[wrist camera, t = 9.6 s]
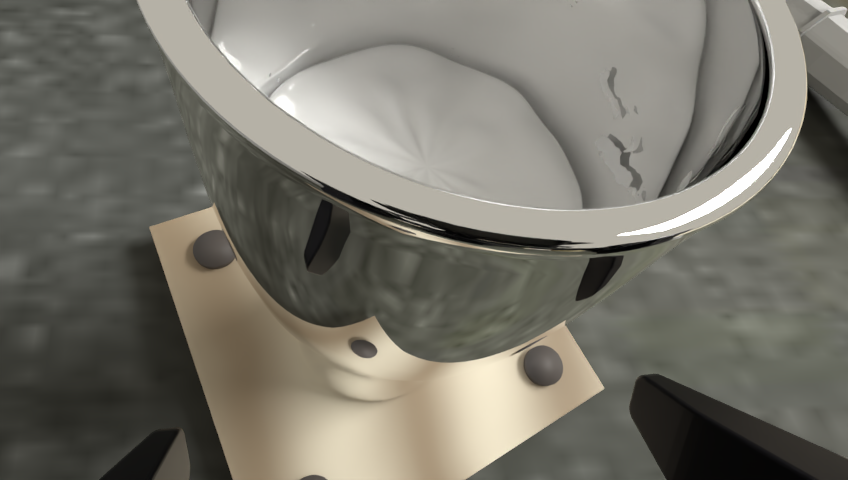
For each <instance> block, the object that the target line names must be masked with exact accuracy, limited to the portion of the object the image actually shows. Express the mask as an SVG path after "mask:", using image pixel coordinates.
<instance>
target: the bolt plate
mask: <svg viewBox="0 0 848 480" xmlns="http://www.w3.org/2000/svg"><path fill="white" fill-rule="evenodd" d="M149 228H150V231H151V234H152V237H153V240H154V243H155V246H156V249H157V252H158V255H159V258H160V261H161V264H162V267H163V270H164V273H165V276H166V279H167V282H168V285H169V288H170V291H171V294H172V297H173V300H174V303H175V306H176V309H177V312H178V315H179V318H180V321H181V324H182V327H183V330H184V333H185V336H186V339H187V342H188V345H189V349H190V352H191V355H192V358H193V361H194V364H195V367H196V370H197V373H198V376H199V379H200V382H201V385H202V388H203V391H204V394H205V397H206V400H207V403H208V406H209V409H210V412H211V415H212V418H213V421H214V424H215V427H216V430H217V433H218V436H219V439H220V442H221V445H222V448H223V451H224V454H225V457H226V460H227V463H228V466H229V469H230V472H231V475H232V478H233V480H465V479H467V478H468V477H470V476H471V475H473V474H475V473H476V472H478V471H479V470H481V469H482V468H484V467H485V466H487V465H488V464H490V463H491V462H493V461H494V460H496V459H497V458H499V457H500V456H502V455H504V454H505V453H507V452H508V451H510V450H511V449H513V448H514V447H516V446H517V445H519V444H520V443H522V442H523V441H525V440H526V439H528V438H530V437H531V436H533V435H534V434H536V433H537V432H539V431H540V430H542V429H543V428H545V427H546V426H548V425H549V424H551V423H552V422H554V421H556V420H557V419H559V418H560V417H562V416H563V415H565V414H566V413H568V412H569V411H571V410H572V409H574V408H575V407H577V406H578V405H580V404H582V403H583V402H585V401H586V400H588V399H589V398H591V397H592V396H594V395H595V394H597V393H598V392H600V391H601V390H603V389H604V387H603V385H602V383H601V382H600V380H599V379H598V377H597V375H596V374H595V372H594V371H593V369H592V367H591V366H590V364H589V362H588V361H587V359H586V358H585V356H584V354H583V353H582V351H581V350H580V348H579V346H578V345H577V343H576V342H575V340H574V338H573V337H572V335H571V334H570V332H569V330H568V329H567V327H566V326H564V327H563V328H561V329H559V330H557V331H556V332H554V333H552V334H551V335H549V336H547V337H545V338H544V339H542V340H540V341H539V342H537V343H535V344H533V345H532V346H530V347H528V348H526V349H524V350H523V351H521V352H519V353H517V354H515V355H513V356H510V357H508V358H505V359H503V360H500V361H498V362H495V363H493V364H490V365H487V366H485V367H482V368H480V369H477V370H474V371H471V372H469V373H465V374H462V375H458V376H454V377H449V378H444V379H436V380H425V381H424V382H423V383H422V384H421V385H419V386H418V387H417V388H415V389H414V390H412V391H410V392H408V393H406V394H404V395H402V396H399V397H396V398H393V399H389V400H383V401H362V400H357V399H352V398H349V397H346V396H344V395H341V394H339V393H337V392H335V391H333V390H332V389H330V388H329V387H327V386H326V385H325V384H324V383H323V382H321V381H320V380H319V379H318V378H317V376H316V375H315V374H314V373H313V372H312V370H311V369H310V368H309V366H308V364H307V363H306V361H305V359H304V357H303V355H302V353H301V350H300V347H299V343H298V339H296V338H295V337H294V336H293V335H292V334H290V333H289V332H288V331H287V330H286V329H285V328H284V327H283V326H282V325H281V324H280V323H279V322H278V321H277V320H276V318H275V317H274V316H273V315H272V314H271V313H270V311H269V310H268V309H267V307H266V306H265V305H264V303H263V302H262V300H261V299H260V297H259V296H258V294H257V293H256V291H255V290H254V288H253V287H252V285H251V283H250V282H249V280H248V279H247V277H246V276H245V274H244V273H243V271H242V269H241V268H240V266H239V264H238V262H237V261H236V259H235V257H234V255H233V253H232V250H231V248H230V246H229V244H228V242H227V239H226V237H225V235H224V233H223V230H222V228H221V226H220V224H219V221H218V219H217V217H216V215H215V212H214V210H213V208H212V207H210V208H207V209H204V210H201V211H198V212H195V213H192V214H189V215H185V216H182V217H179V218H176V219H173V220H170V221H167V222H163V223H160V224H157V225H154V226H151V227H149Z"/></svg>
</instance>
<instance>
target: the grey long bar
mask: <svg viewBox="0 0 848 480" xmlns="http://www.w3.org/2000/svg"><path fill="white" fill-rule="evenodd" d="M785 1H786V3H787V5H788V7H789V9H790V11H791V13H792V16H793V18H794V21H795V23H796V26H797V29H798V32H799V35H800V38H801V42H802V46H803V50H804V54H805V61H806V69H807V85H809V86H810V87H811V88H812V89H814V90H815V91H816V92H817V93H819V94H820V95H821V96H822V97H824V98H825V99H826V100H827V101H829V102H830V103H831V104H832V105H834V106H835V107H836V108H837V109H839V110H840V111H841V112H842V113H844V114H845V115H846V116H848V19H847V18H845V17H844V16H845V14H846V12H847V9H846V8H845V7H838V8H832V7H830V6H829V5H827V4H826V3H824V2H823V1H821V0H785Z"/></svg>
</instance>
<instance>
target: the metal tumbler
mask: <svg viewBox="0 0 848 480" xmlns="http://www.w3.org/2000/svg"><path fill="white" fill-rule="evenodd" d="M136 2H137V5H138V7H139V10H140V12H141V14H142V17H143V19H144V21H145V23H146V25H147V27H148V29H149V31H150V32H151V34H152V36H153V38H154V40H155V41H156V43H157V45H158V48H159V51H160V54H161V57H162V59H163V62H164V65H165V68H166V71H167V74H168V77H169V80H170V83H171V86H172V89H173V92H174V95H175V98H176V102H177V105H178V108H179V111H180V114H181V118H182V121H183V124H184V127H185V130H186V134H187V137H188V140H189V143H190V146H191V149H192V152H193V155H194V157H195V160H196V163H197V166H198V169H199V172H200V175H201V177H202V180H203V183H204V186H205V189H206V192H207V195H208V197H209V200H210V203H211V205H212V208H213V210H214V212H215V215H216V217H217V219H218V221H219V224H220V226H221V228H222V230H223V233H224V235H225V237H226V239H227V242H228V244H229V246H230V248H231V250H232V253H233V255H234V257H235V259H236V261H237V262H238V264H239V266H240V268H241V269H242V271H243V273H244V274H245V276H246V277H247V279H248V280H249V282H250V283H251V285H252V287H253V288H254V290H255V291H256V293H257V294H258V296H259V297H260V299H261V300H262V302H263V303H264V305H265V306H266V307H267V309H268V310H269V311H270V313H271V314H272V315H273V316H274V317H275V318H276V320H277V321H278V322H279V323H280V324H281V325H282V326H283V327H284V328H285V329H286V330H287V331H288V332H289V333H290V334H292V335H293V336H294V337H295V338H296V339H298V343H299V347H300V350H301V353H302V355H303V357H304V359H305V361H306V363H307V364H308V366H309V368H310V369H311V370H312V372H313V373H314V374H315V375H316V376H317V378H318V379H319V380H320V381H321V382H323V383H324V384H325V385H326V386H327V387H329V388H330V389H332V390H333V391H335V392H337V393H339V394H341V395H344V396H346V397H349V398H352V399H357V400H362V401H383V400H389V399H393V398H396V397H399V396H402V395H404V394H406V393H408V392H410V391H412V390H414V389H415V388H417V387H418V386H419V385H421V384H422V383H423V382H424V381H425V380H436V379H444V378H449V377H454V376H458V375H462V374H465V373H469V372H471V371H474V370H477V369H480V368H482V367H485V366H487V365H490V364H493V363H495V362H498V361H500V360H503V359H505V358H508V357H510V356H513V355H515V354H517V353H519V352H521V351H523V350H524V349H526V348H528V347H530V346H532V345H533V344H535V343H537V342H539V341H540V340H542V339H544V338H545V337H547V336H549V335H551V334H552V333H554V332H556V331H557V330H559V329H561V328H563V327H564V326H566V325H567V324H569V323H571V322H572V321H574V320H575V319H577V318H578V317H580V316H581V315H582V314H584V313H585V312H587V311H588V310H590V309H591V308H593V307H594V306H595V305H597V304H598V303H600V302H601V301H603V300H604V299H606V298H607V297H608V296H610V295H611V294H613V293H614V292H616V291H617V290H618V289H620V288H621V287H622V286H624V285H625V284H627V283H628V282H629V281H631V280H632V279H633V278H635V277H636V276H637V275H639V274H640V273H641V272H643V271H644V270H645V269H647V268H648V267H649V266H651V265H652V264H653V263H655V262H656V261H657V260H659V259H660V258H661V257H663V256H664V255H665V254H667V253H668V252H670V251H671V250H672V249H674V248H675V247H677V246H678V245H680V244H681V243H682V242H684V241H685V240H687V239H688V238H689V237H691V236H692V235H694V234H695V233H697V232H699V231H701V230H703V229H705V228H708V227H710V226H712V225H714V224H716V223H718V222H719V221H721V220H723V219H725V218H727V217H728V216H730V215H731V214H733V213H735V212H736V211H738V210H739V209H740V208H742V207H743V206H745V205H746V204H747V203H749V202H750V201H751V200H752V199H753V198H754V197H755V196H757V195H758V194H759V193H760V192H761V191H762V190H763V189H764V188H765V187H766V186H767V185H768V184H769V183H770V182H771V181H772V179H773V178H774V177H775V176H776V174H777V173H778V172H779V171H780V169H781V168H782V166H783V165H784V163H785V162H786V160H787V158H788V157H789V155H790V153H791V151H792V149H793V147H794V145H795V143H796V140H797V138H798V135H799V132H800V129H801V126H802V123H803V119H804V115H805V109H806V102H807V69H806V61H805V54H804V50H803V46H802V42H801V38H800V35H799V32H798V29H797V26H796V23H795V21H794V18H793V16H792V13H791V11H790V9H789V7H788V5H787V3H786V1H785V0H136Z"/></svg>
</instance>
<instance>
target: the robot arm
mask: <svg viewBox="0 0 848 480" xmlns="http://www.w3.org/2000/svg"><path fill="white" fill-rule="evenodd" d="M629 410H630V414H631V417H632V419H633V421H634V423H635V425H636V426H637V428H638V430H639V432H640V433H641V435H642V437H643V439H644V441H645V442H646V444H647V446H648V448H649V449H650V451H651V453H652V455H653V457H654V458H655V460H656V462H657V464H658V465H659V467H660V469H661V471H662V473H663V474H664V476H665V478H666V479H667V480H848V459H847V458H845V457H843V456H840V455H838V454H836V453H834V452H831V451H829V450H827V449H825V448H822V447H820V446H818V445H816V444H813V443H811V442H809V441H807V440H805V439H802V438H800V437H798V436H796V435H793V434H791V433H789V432H787V431H784V430H782V429H780V428H778V427H776V426H773V425H771V424H769V423H767V422H764V421H762V420H760V419H758V418H755V417H753V416H751V415H749V414H746V413H744V412H742V411H740V410H738V409H735V408H733V407H731V406H729V405H726V404H724V403H722V402H720V401H717V400H715V399H713V398H711V397H708V396H706V395H704V394H702V393H700V392H697V391H695V390H693V389H691V388H688V387H686V386H684V385H682V384H679V383H677V382H675V381H673V380H671V379H668V378H666V377H664V376H662V375H659V374H648V375H641V376H639V377H638V378H637V379H636V382H635V385H634V389H633V393H632V397H631V401H630V406H629ZM189 476H190V460H189V455H188V450H187V444H186V439H185V434H184V431H183V430H182V429H181V428H179V427H175V428H166V429H159V430H156V431H154V432H152V433H151V434H150V435H149V436H148V437H146V438H145V439H144V440H143V441H142V442H141V443H140V444H139V445H137V446H136V447H135V448H134V449H133V450H132V451H131V452H130V453H128V454H127V455H126V456H125V457H124V458H123V459H122V460H121V461H119V462H118V463H117V464H116V465H115V466H114V467H113V468H112V469H110V470H109V471H108V472H107V473H106V474H105V475H104V476H103V477H101V478H100V479H99V480H189Z"/></svg>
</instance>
